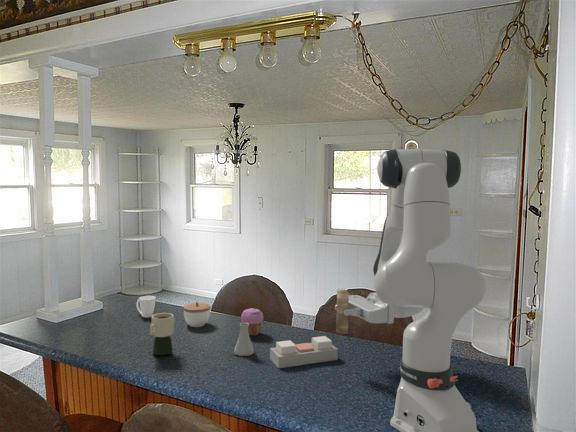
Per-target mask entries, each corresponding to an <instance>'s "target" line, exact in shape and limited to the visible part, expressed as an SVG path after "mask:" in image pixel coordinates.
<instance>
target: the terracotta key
mask: <svg viewBox="0 0 576 432" xmlns="http://www.w3.org/2000/svg"><path fill="white" fill-rule="evenodd" d="M309 343H310V342H304V343H296V344H295V343H294V344H295V345H296V350H297V351H298V352H299V353H301V352H308V351H314V347H312V346H311V345H310V344H309Z"/></svg>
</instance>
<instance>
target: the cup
mask: <svg viewBox="0 0 576 432" xmlns="http://www.w3.org/2000/svg"><path fill="white" fill-rule="evenodd" d="M156 299H157V297H156V296H154V295H144V296H140V297H138V299H137V300H136V305H135V307H136V310H137V311H138V313H140V315H141V317H142V318H152V316H153V315H154V312H155V304H156Z"/></svg>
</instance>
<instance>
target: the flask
mask: <svg viewBox="0 0 576 432" xmlns="http://www.w3.org/2000/svg"><path fill="white" fill-rule="evenodd" d="M248 326H249V323H243V322H240V323H239V327H240V330H239V334H238V338H237V342H236V345H235V346H234V349H233V355H235V356H239V357H246V356H247V357H249V356H252V355H253V354H255V349H254V346H253V343H252V340H251V337H250V335H249V333H248Z"/></svg>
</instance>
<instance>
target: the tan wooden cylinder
mask: <svg viewBox="0 0 576 432" xmlns="http://www.w3.org/2000/svg"><path fill="white" fill-rule="evenodd" d="M349 295H350V292H349V290H347V289H337V290H336V305H337V310H336V329H335V330H336V331H335V333H337V334H339V335H345V334H348V333H349V315H348V316H345V315H344V314H343V309H346V308H348V305H349Z"/></svg>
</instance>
